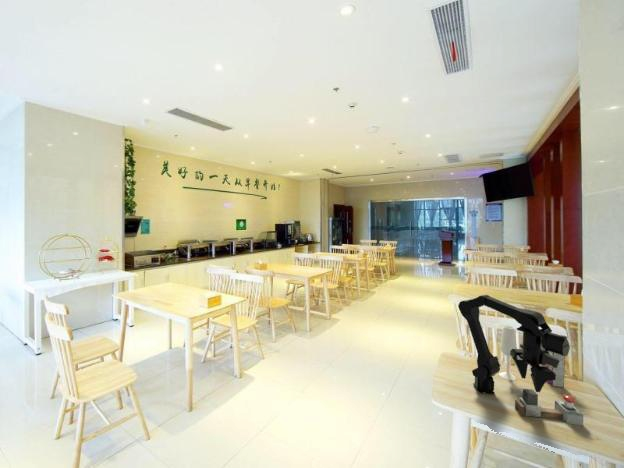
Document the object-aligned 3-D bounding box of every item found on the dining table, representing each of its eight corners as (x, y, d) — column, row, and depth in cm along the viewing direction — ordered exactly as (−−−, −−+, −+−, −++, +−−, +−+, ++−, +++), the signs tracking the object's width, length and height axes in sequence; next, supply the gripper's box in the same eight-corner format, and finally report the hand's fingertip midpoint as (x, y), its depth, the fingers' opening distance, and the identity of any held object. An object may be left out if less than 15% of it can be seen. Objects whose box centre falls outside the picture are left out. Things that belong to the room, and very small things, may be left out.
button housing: (567, 423, 102) (567, 412, 102) (554, 410, 109) (554, 400, 108) (583, 425, 101) (583, 414, 101) (569, 412, 108) (569, 402, 107)
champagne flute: (517, 381, 129) (519, 330, 128) (500, 378, 132) (502, 328, 131) (514, 374, 135) (516, 325, 134) (498, 371, 138) (499, 323, 137)
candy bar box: (537, 373, 136) (538, 340, 135) (548, 374, 135) (549, 341, 134) (551, 386, 125) (553, 350, 124) (564, 388, 124) (566, 351, 123)
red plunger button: (566, 413, 103) (567, 399, 103) (559, 407, 107) (560, 393, 106) (577, 414, 102) (578, 400, 102) (570, 408, 106) (571, 394, 106)
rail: (521, 415, 106) (521, 406, 105) (514, 408, 110) (515, 399, 110) (564, 420, 103) (565, 411, 103) (556, 412, 107) (557, 404, 107)
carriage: (525, 415, 105) (526, 394, 105) (519, 407, 110) (519, 387, 109) (540, 417, 104) (541, 396, 104) (533, 409, 109) (534, 389, 108)
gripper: (574, 358, 96) (572, 402, 96) (540, 337, 114) (538, 374, 114) (538, 355, 98) (536, 398, 98) (510, 334, 116) (508, 371, 116)
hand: (530, 384), depth 107 cm, fingers open, 9 cm apart
